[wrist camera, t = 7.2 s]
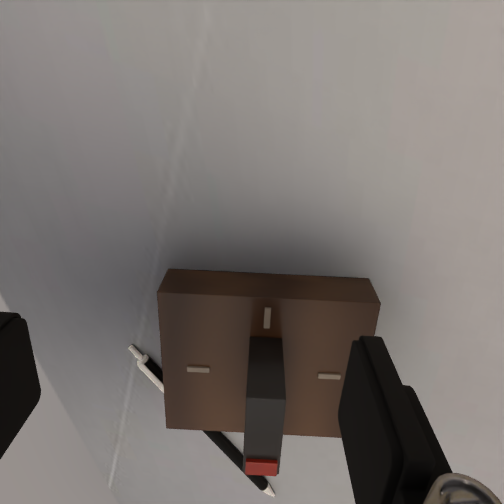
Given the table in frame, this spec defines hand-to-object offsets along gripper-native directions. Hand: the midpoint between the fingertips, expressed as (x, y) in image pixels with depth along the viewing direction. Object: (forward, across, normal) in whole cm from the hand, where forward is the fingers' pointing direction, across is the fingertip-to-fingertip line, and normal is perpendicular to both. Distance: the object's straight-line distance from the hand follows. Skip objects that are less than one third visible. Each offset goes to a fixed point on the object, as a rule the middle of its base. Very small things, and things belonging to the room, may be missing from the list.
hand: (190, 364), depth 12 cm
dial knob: (+11, -3, +10) cm, 15 cm away
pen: (+14, +1, +18) cm, 23 cm away
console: (+14, -3, +10) cm, 17 cm away
